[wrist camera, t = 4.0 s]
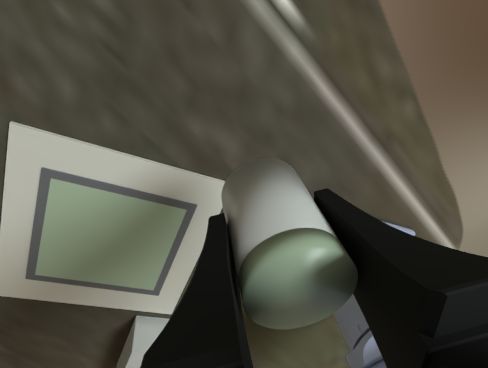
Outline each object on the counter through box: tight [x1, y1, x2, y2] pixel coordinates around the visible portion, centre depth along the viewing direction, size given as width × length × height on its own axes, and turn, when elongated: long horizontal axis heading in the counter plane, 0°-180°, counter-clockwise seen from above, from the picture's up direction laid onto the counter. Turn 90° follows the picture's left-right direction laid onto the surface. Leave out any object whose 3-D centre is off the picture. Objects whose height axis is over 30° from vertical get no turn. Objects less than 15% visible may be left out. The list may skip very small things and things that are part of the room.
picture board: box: [0, 121, 225, 314], centre depth 24 cm, size 14×15×1 cm
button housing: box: [116, 315, 169, 368], centre depth 31 cm, size 8×8×4 cm
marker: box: [221, 158, 358, 330], centre depth 13 cm, size 4×4×6 cm
